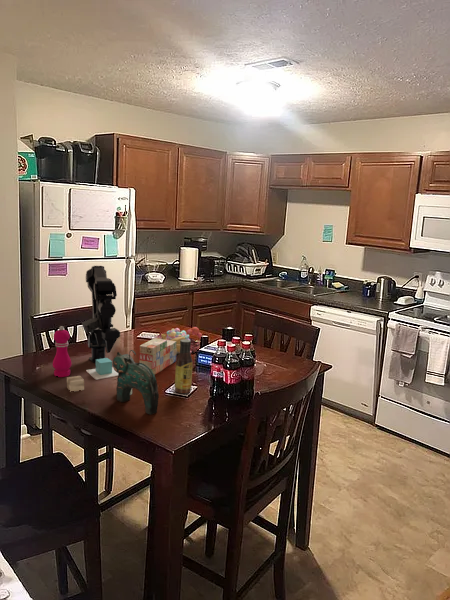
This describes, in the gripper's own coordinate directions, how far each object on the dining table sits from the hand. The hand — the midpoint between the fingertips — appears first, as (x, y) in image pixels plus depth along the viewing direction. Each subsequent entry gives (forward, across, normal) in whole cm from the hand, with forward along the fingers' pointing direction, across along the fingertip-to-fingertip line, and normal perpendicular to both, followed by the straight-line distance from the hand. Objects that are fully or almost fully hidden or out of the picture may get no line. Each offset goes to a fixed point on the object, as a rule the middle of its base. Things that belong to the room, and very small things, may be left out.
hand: (104, 349), depth 203 cm
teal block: (+10, 0, 0) cm, 10 cm away
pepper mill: (+10, -6, -15) cm, 19 cm away
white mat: (+10, 0, 0) cm, 10 cm away
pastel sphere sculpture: (+11, -18, +45) cm, 50 cm away
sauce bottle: (+10, +31, +19) cm, 38 cm away
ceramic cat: (+10, +34, -2) cm, 36 cm away
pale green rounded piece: (+10, +23, -1) cm, 25 cm away
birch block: (+10, +10, -15) cm, 21 cm away
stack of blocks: (+10, +3, +23) cm, 26 cm away
